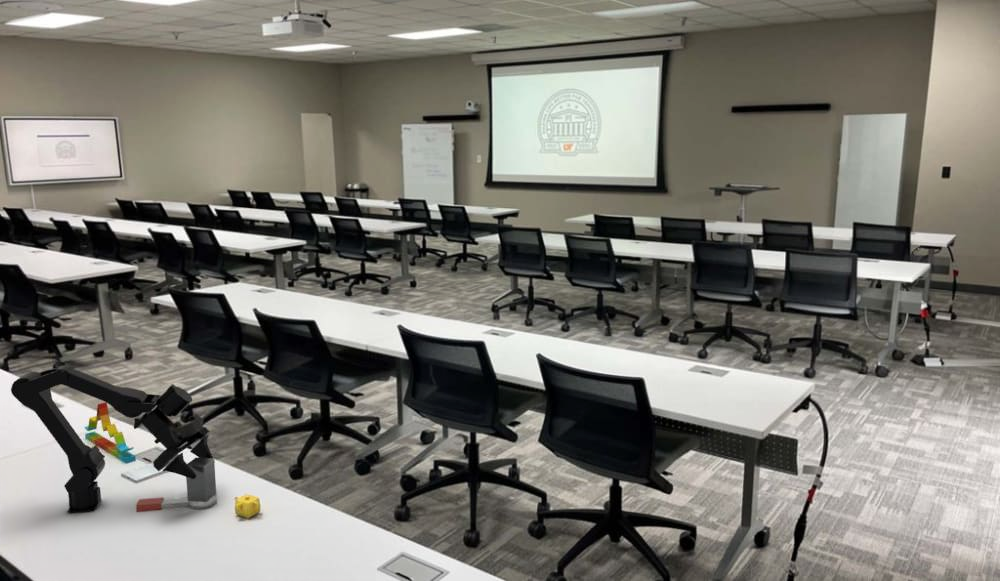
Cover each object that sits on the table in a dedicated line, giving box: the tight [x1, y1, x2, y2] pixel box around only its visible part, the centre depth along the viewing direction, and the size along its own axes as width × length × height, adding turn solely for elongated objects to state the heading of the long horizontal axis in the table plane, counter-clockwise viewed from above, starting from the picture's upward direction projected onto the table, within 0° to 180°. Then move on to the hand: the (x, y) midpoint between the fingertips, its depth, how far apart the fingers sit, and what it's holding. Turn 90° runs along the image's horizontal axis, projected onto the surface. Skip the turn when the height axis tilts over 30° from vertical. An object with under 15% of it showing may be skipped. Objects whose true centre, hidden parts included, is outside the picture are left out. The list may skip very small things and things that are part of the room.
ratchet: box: [135, 493, 218, 513], centre depth 193 cm, size 20×7×4 cm, turn 102°
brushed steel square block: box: [185, 456, 217, 502], centre depth 194 cm, size 5×5×10 cm
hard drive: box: [120, 462, 169, 484], centre depth 214 cm, size 2×8×12 cm
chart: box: [84, 402, 137, 464], centre depth 230 cm, size 30×3×15 cm, turn 50°
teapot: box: [234, 493, 261, 520], centre depth 189 cm, size 8×6×5 cm
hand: (204, 470), depth 193 cm, fingers open, 9 cm apart
